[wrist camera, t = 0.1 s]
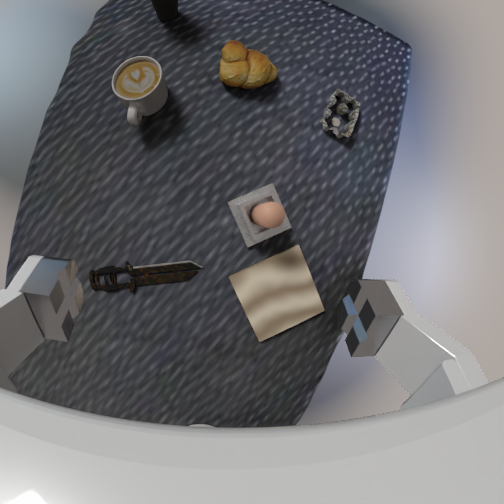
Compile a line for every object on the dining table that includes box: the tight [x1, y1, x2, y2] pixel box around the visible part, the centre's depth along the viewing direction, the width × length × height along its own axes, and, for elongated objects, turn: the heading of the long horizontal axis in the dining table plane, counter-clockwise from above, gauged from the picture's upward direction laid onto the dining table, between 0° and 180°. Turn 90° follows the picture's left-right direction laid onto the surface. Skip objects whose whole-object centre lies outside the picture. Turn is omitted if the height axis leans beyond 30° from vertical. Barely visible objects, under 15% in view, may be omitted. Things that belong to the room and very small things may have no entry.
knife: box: [89, 260, 203, 293], centre depth 61 cm, size 25×6×1 cm, turn 90°
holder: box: [228, 183, 291, 247], centre depth 60 cm, size 10×10×5 cm
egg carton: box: [320, 88, 360, 138], centre depth 61 cm, size 11×8×4 cm
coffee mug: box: [112, 56, 168, 126], centre depth 52 cm, size 13×10×10 cm
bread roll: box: [219, 40, 278, 89], centre depth 55 cm, size 13×10×8 cm
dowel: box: [250, 202, 285, 228], centre depth 56 cm, size 4×4×12 cm
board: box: [229, 245, 324, 342], centre depth 65 cm, size 16×16×1 cm
